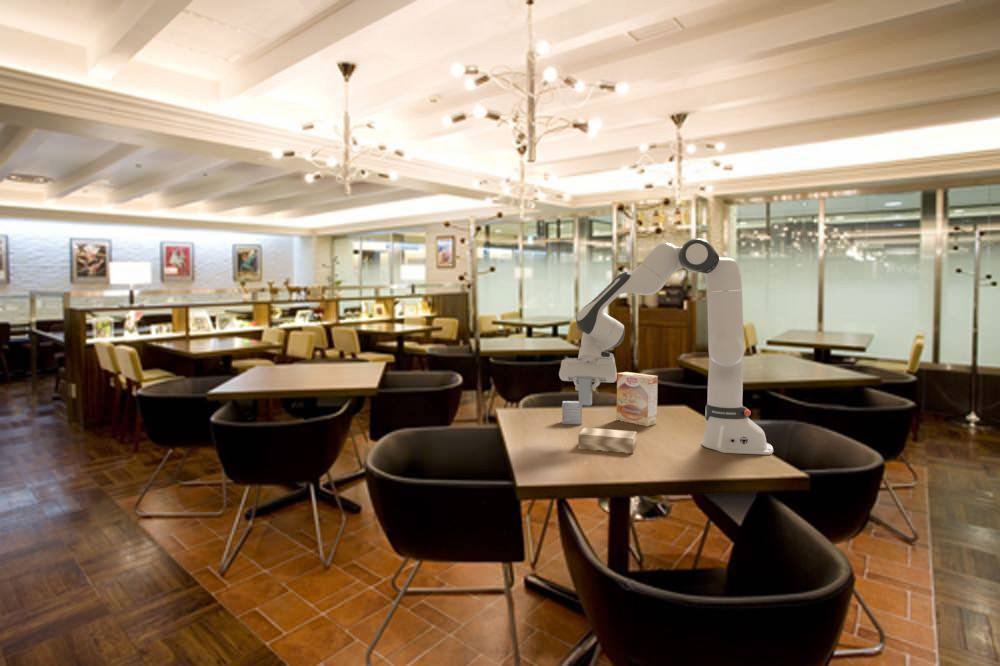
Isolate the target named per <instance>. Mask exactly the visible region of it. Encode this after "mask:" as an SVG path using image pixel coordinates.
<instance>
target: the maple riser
mask: <svg viewBox="0 0 1000 666" xmlns="http://www.w3.org/2000/svg"><path fill="white" fill-rule="evenodd" d="M637 435H638V434H637V431H633V430H619V429H611V428H610V429H608V428H596V427H595V428H594V427H583V428H582V429H581V431H580V432H579V433H578V443H577V444H578V445H577V446H578V447H577V448H578V450H579V449H580V450H587V449H589V451H597V450H602V451H601V452H608V451H615V452H614V453H619V452H625V453H624V454H629V453H633V452H634V453H635V451H634V450H636V449H637V438H638V437H637ZM634 453H633V454H634Z"/></svg>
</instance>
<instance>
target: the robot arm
mask: <svg viewBox="0 0 1000 666" xmlns="http://www.w3.org/2000/svg"><path fill="white" fill-rule="evenodd" d="M678 270H684V271H687V272H689V273H697V274H698V273H701V274H703V276H704V277H705V282H706V302H707V304H706V305H707V307H706V309H707V341H708V343H707V345H708V347H707V348H708V349H707V350H708V376H707V403H706V405H705V413H704V414H705V415H704V416H705V417H704V418H705V420H706V421H705V427H704V432H703V433H704V434H703V436H702V440H701V442H700V444H701V445H702V446H704V447H705V448H707V449H711V450H715V451H718V452H720V453H723V454H740V455H741V454H742V455H743V454H744V455H747V454H748V455H766V456H767V455H768V456H769V455H771V454H773V453H774V448H773V446H772V445H771V443H768V442H767V438H766V433H765V431H764V430H763V429H762V428H761V426H759V425H758V424H756V423H755V422H754V421H753V420H752V419H751V418H750V416H751V412H752V411H751V410H750V409H749V408H747V407H746V406H744V405H743V391H744V389H743V388H744V384H743V383H744V381H743V380H744V356H745V332H744V330H745V329H744V328H745V327H744V308H743V306H744V305H743V284H742V277H741V271H740V267H739V264H738V262H737V261H736V260H735V259H733V258H730V257H720V256H719V254H718V253H717V251H716V249H715V248H714V247H713V245H712V244H711V243H710V242H709V241H708V240H706V239H704V238H691V239H690V240H688V241H686V242H685V243H684V244H683V246H681V247H680V246H676V245H675V244H673V243H670V242H660V243H659V244H657V245H656V246H655V247H654V248H653V249H652V250H650V252H649V253H648V254H647V255H646V256H645V257H644V258H643V260H642V262H640V264H639V265H638V266H637V267H635V268H634V269H633V270H631V271H629V272H628V271H625V272H622V273H620V274H619V275H618V276H617V277H615V278H614V279H613V280H612V281H611V282H610V283H609V284H607V286H606V287H605V288H604V289H603V290H601V292H600V293H599V294H597V296H595V298H594V299H593V300H591V301H590V302H589V303H587V304H586V305H585V306H584V307H583V308H581V309H580V311H579V312H578V313H577V314H576V317H575V322H576V326H577V329H578V331H580V332H582V335H581V340H580V345H581V346H580V347H579V351H578V356H577V357H566V358H564V359H562V360H561V362H560V368H559V372H558V376H559V379H560V380H561V381H564V382H573V383H574V385H575V387H574V389H575V391H578V392H579V379H580V378H592V385H591V391H592V392H596V389H597V388H598V387H599V386H600V384H601V383H610V384H611V383H616V382H617V373H618V372H617V367H616V359H615V355H614V353H612V352H609V351H608V350H610V349H613V348H616V347H619V345H621V344H622V343H623V342H624V338H625V334H626V328H625V325H624V324H623V323H621V321H619V320H617V319H616V318H614V317H612V316H611V315H609V314H607V313H606V312H604V310H605V309H606V308H607V307H608V306H609V305H610V304H611V303H612V302H613V301H614V300H615V299H616V298H617V297H618V296H620V295H622V294H636V295H641V296H651V295H655V294H657V293H658V292H660V291H661V290H662V289H663V288H664V286H665V285H666V284H667V282H668V281H669V280H670V279H671V277H672V276H673V275H674V274H675V272H677V271H678ZM605 350H606V351H605Z"/></svg>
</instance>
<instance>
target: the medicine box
mask: <svg viewBox="0 0 1000 666" xmlns="http://www.w3.org/2000/svg"><path fill="white" fill-rule="evenodd" d="M561 412H562V413H561V420H562V421H561V424H562V425H583V405H579V400H563V401H562V403H561Z"/></svg>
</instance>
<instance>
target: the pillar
mask: <svg viewBox="0 0 1000 666" xmlns="http://www.w3.org/2000/svg"><path fill="white" fill-rule="evenodd" d="M578 384H579V391H578V401H579V405H582V406H587V407H588V406H592V404H593V391H591V385H593V382H592V378H580V379H579V381H578Z"/></svg>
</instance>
